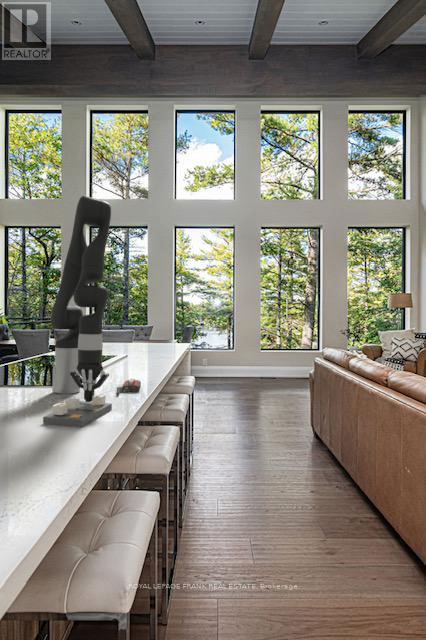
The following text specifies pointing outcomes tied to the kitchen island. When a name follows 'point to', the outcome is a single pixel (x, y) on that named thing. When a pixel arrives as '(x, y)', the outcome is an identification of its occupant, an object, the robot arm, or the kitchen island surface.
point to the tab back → (98, 399)
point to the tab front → (60, 409)
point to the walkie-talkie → (129, 386)
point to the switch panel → (78, 415)
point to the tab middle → (72, 403)
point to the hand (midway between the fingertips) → (89, 401)
